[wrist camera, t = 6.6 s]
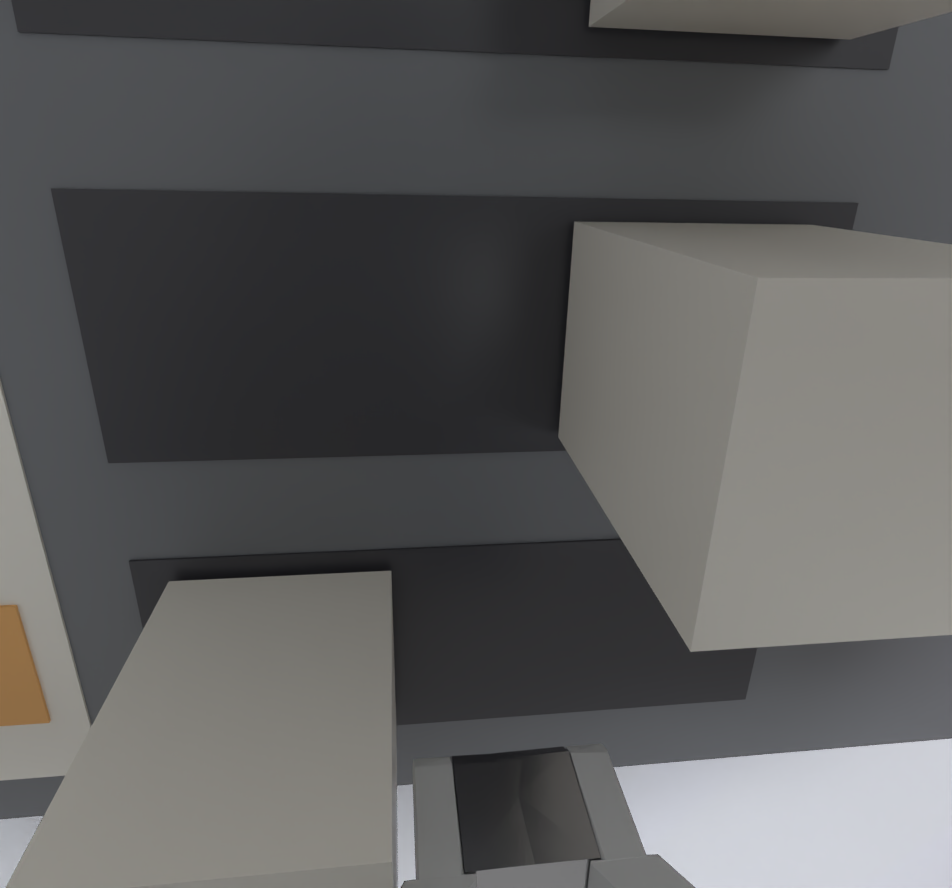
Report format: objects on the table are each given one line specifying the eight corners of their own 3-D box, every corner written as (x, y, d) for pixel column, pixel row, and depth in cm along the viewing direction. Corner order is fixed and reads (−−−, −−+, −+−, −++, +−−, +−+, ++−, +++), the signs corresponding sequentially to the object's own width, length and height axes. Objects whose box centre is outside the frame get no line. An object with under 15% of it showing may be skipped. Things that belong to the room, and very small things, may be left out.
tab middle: (574, 221, 9) (758, 278, 5) (812, 224, 10) (1197, 279, 5) (558, 436, 10) (690, 651, 6) (769, 431, 11) (1048, 628, 6)
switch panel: (-577, -562, 7) (-953, -844, 5) (1244, -329, 9) (1463, -457, 8) (-69, 742, 14) (-144, 836, 12) (904, 672, 16) (973, 740, 14)
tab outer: (168, 580, 11) (-2, 901, 6) (391, 570, 11) (392, 862, 6) (197, 733, 12) (74, 1095, 7) (395, 719, 12) (399, 1052, 8)
